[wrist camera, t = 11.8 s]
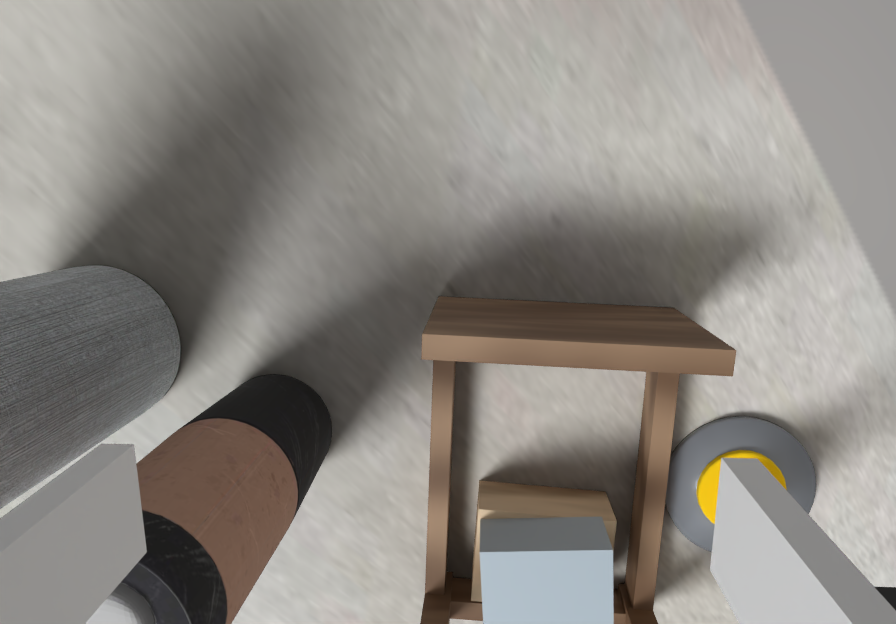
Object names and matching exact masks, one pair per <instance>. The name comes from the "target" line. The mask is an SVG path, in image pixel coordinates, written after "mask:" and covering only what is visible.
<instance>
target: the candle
mask: <svg viewBox="0 0 896 624" xmlns="http://www.w3.org/2000/svg"><path fill="white" fill-rule="evenodd" d="M721 458H757V459H758V460H759V461H760V462H761V463H762V464H763V465H764V466H765V467H766V468H767V470H768V471H769V472H770V473H771V474H772V475H773V476H774V477H775V478H776V479H777V481H778V482H779V483H780V484H781V485H782V486H783V487H784V488H785V489H786V482H785V478H784V476H783V474H782V472H781V470H780V469H779V468H778V467H777V466H776V465H775V464H774V462H773V461H772V460H771V459H769V458H767V457H766V456H764V455H762V454H760V453H757V452H754V451H750V450H736V451H731V452H727V453H725V454H722V455H720V456H718V457H716V458H715V459H714V460H712V461H711V462H710V463H709V464H708V465H707V466H706V467H705V469H704V470H703V471H702V473H701V475H700V477H699V480H698V482H697V491H696V494H697V499H698V504H699V506H700V507H701V509H702V511H703V513H704V515H705V516H706V517H707V518H708V519H709V520H710V521H711V522H712V523H713V524H715V516H716V506H717V496H718V486H719V476H720V466H721ZM786 490H787V489H786Z"/></svg>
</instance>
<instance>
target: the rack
mask: <svg viewBox="0 0 896 624" xmlns="http://www.w3.org/2000/svg"><path fill="white" fill-rule="evenodd" d="M735 356H736V350H735V349H734V348H732V347H731V346H729V345H728V344H726V343H725V342H723V341H722V340H720V339H719V338H717V337H716V336H714V335H713V334H712V333H710V332H709V331H707V330H706V329H704V328H703V327H701V326H700V325H698V324H697V323H695V322H694V321H692V320H691V319H690V318H688V317H687V316H685V315H684V314H682V313H681V312H679V311H678V310H676V309H675V308H669V307H648V306H628V305H608V304H587V303H567V302H546V301H526V300H505V299H485V298H465V297H444V296H439V297H438V299H437V301H436V304H435V306H434V308H433V310H432V313H431V315H430V317H429V320H428V322H427V324H426V326H425V329H424V331H423V333H422V355H421V359H423V360H433V385H432V413H431V442H430V470H429V498H428V526H427V554H426V582H425V598H424V604H423V610H422V617H421V623H420V624H449V621H450V618H451V619H465V620H478V621H483V610H482V602H479V601H471V589H472V579H467V578H453V572H447V556H448V532H449V509H450V485H451V462H452V438H453V415H454V392H455V368H456V361H460V362H478V363H497V364H515V365H534V366H552V367H570V368H589V369H607V370H626V371H644V372H646V382H645V392H644V401H643V411H642V421H641V431H640V440H639V450H638V460H637V469H636V479H635V489H634V499H633V508H632V518H631V528H630V537H629V547H628V557H627V567H626V576H625V584H618V589H613V607H614V624H658V623H657V620H656V617H655V615H654V612H653V605H654V596H655V587H656V578H657V569H658V560H659V552H660V543H661V534H662V525H663V516H664V508H665V499H666V490H667V481H668V472H669V464H670V455H671V446H672V437H673V428H674V419H675V411H676V402H677V393H678V384H679V375H680V373H681V374H700V375H718V376H733V371H734V364H735Z"/></svg>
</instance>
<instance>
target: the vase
mask: <svg viewBox="0 0 896 624" xmlns="http://www.w3.org/2000/svg"><path fill="white" fill-rule="evenodd" d="M180 355H181V346H180V338H179V333H178V328H177V326H176V323H175V320H174V318H173V316H172V314H171V312H170V310H169V308H168V306H167V305H166V304H165V302H164V301H163V299H162V298H161V297H160V296H159V295H158V294H157V293H156V291H155V290H154V289H152V288H151V287H150V286H149V285H148V284H147V283H145V282H144V281H142V280H141V279H139V278H138V277H136V276H134V275H132V274H131V273H129V272H126V271H123V270H121V269H117V268H113V267H109V266H101V265H91V266H81V267H72V268H67V269H62V270H57V271H52V272H47V273H42V274H37V275H32V276H28V277H23V278H18V279H13V280H8V281H3V282H0V509H1V508H2V507H4V506H5V505H7V504H8V503H10V502H11V501H13V500H14V499H16V498H17V497H19V496H20V495H22V494H23V493H25V492H26V491H28V490H29V489H31V488H32V487H34V486H35V485H37V484H38V483H40V482H41V481H43V480H44V479H46V478H47V477H49V476H50V475H52V474H53V473H55V472H56V471H58V470H59V469H61V468H62V467H64V466H65V465H67V464H68V463H70V462H71V461H73V460H74V459H76V458H77V457H79V456H80V455H82V454H83V453H85V452H86V451H88V450H89V449H90V448H92V447H93V446H95V445H96V444H98V443H99V442H101V441H102V440H104V439H105V438H107V437H108V436H110V435H111V434H113V433H114V432H116V431H117V430H119V429H120V428H122V427H123V426H125V425H126V424H128V423H129V422H131V421H132V420H134V419H135V418H137V417H138V416H140V415H141V414H143V413H144V412H145V411H147V410H148V409H149V408H151V407H152V406H153V405H154V404H155V403H157V402H158V401H159V400H160V399H161V398H162V397H163V396H164V395H165V394H166V393H167V391H168V390H169V388H170V387H171V385H172V383H173V381H174V379H175V377H176V375H177V371H178V368H179V363H180Z"/></svg>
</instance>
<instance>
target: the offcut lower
mask: <svg viewBox="0 0 896 624" xmlns="http://www.w3.org/2000/svg"><path fill="white" fill-rule="evenodd" d="M553 517H602V519H603V522H604V525H605V528H606V531H607V534H608V536H609V539H610V542H611V545H612V548H614V541H615V533H616V525H617V521H616V518H615V515H614V513H613V510H612V507H611V505H610V502H609V499H608V497H607V494H606V492H604V491H592V490H581V489H570V488H559V487H548V486H537V485H525V484H514V483H503V482H492V481H481V480H479V492H478V504H477V516H476V529H475V541H474V553H473V565H472V589H471V601H479V602H482V590H481V570H480V519H504V518H553Z"/></svg>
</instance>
